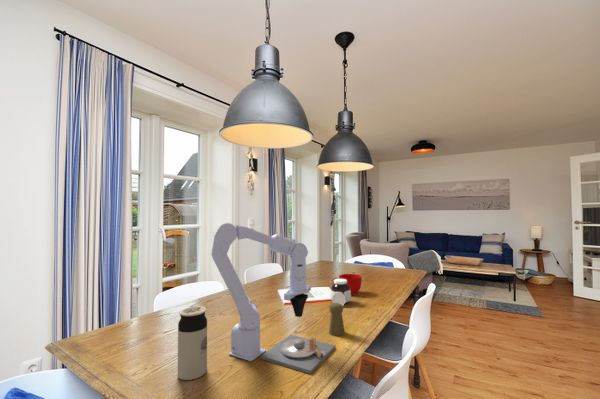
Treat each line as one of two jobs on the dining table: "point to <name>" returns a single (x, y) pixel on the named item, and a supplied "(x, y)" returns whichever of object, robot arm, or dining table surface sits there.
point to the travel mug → (192, 343)
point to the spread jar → (340, 292)
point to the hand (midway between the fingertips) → (298, 316)
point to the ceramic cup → (351, 281)
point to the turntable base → (298, 364)
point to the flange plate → (300, 349)
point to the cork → (336, 320)
